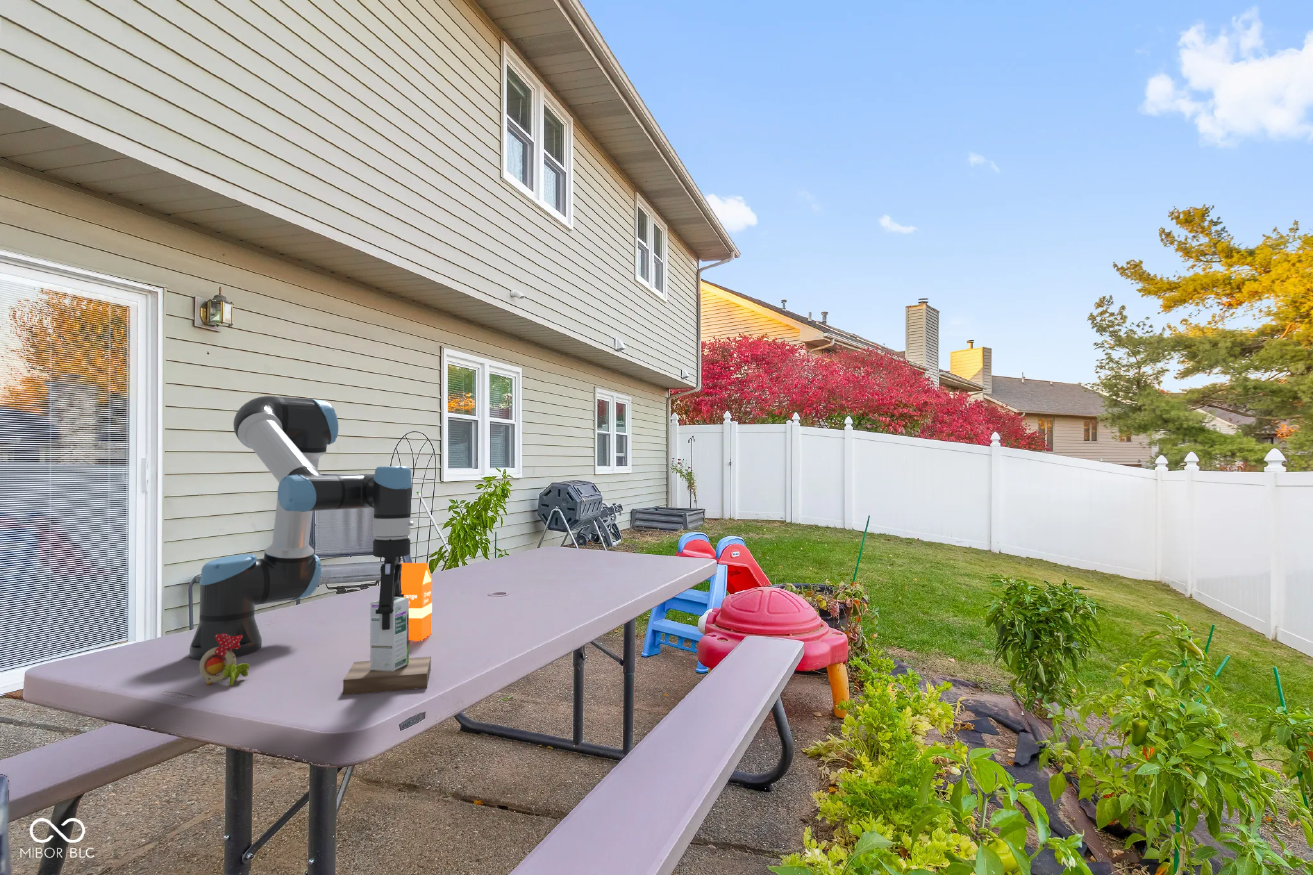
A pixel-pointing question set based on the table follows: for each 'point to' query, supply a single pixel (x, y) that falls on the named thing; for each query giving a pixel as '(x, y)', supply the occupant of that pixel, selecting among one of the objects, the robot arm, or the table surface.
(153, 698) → the table surface
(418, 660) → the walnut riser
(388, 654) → the syrup box
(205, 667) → the bird rattle
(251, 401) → the robot arm
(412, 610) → the orange juice
